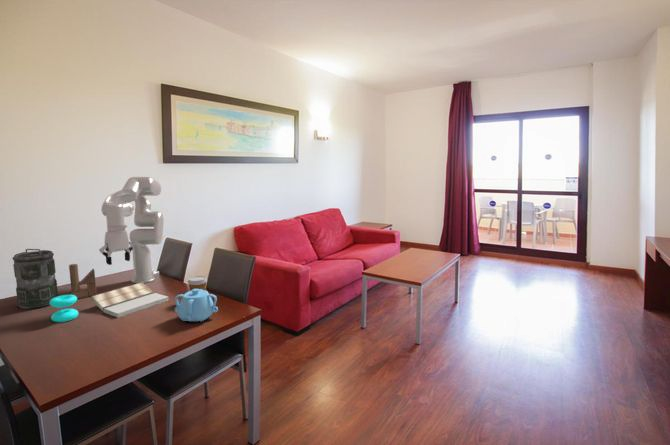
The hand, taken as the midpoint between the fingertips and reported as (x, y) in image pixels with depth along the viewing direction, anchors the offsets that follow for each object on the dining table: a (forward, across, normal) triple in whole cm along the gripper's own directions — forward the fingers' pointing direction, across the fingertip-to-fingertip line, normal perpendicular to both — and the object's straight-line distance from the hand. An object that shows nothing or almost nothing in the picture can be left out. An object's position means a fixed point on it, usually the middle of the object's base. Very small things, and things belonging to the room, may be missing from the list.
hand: (118, 262), depth 187 cm
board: (+20, 0, +14) cm, 25 cm away
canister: (+21, +24, -30) cm, 44 cm away
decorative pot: (+21, -6, +50) cm, 54 cm away
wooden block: (+21, +7, -22) cm, 31 cm away
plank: (+18, 0, +2) cm, 18 cm away
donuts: (+21, +26, +1) cm, 33 cm away
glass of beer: (+21, -21, +32) cm, 44 cm away
